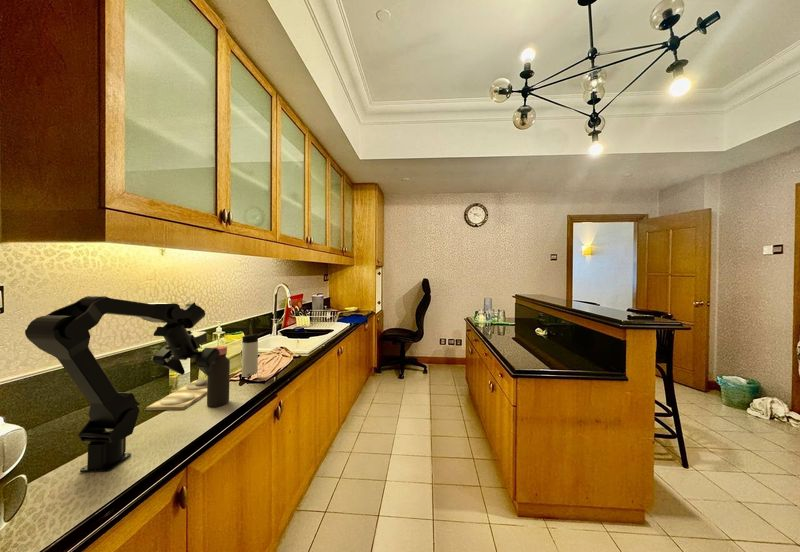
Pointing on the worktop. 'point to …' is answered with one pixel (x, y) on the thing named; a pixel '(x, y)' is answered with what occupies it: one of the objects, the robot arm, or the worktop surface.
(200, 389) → the board
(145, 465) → the worktop surface
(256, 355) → the travel mug
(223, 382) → the vinegar
